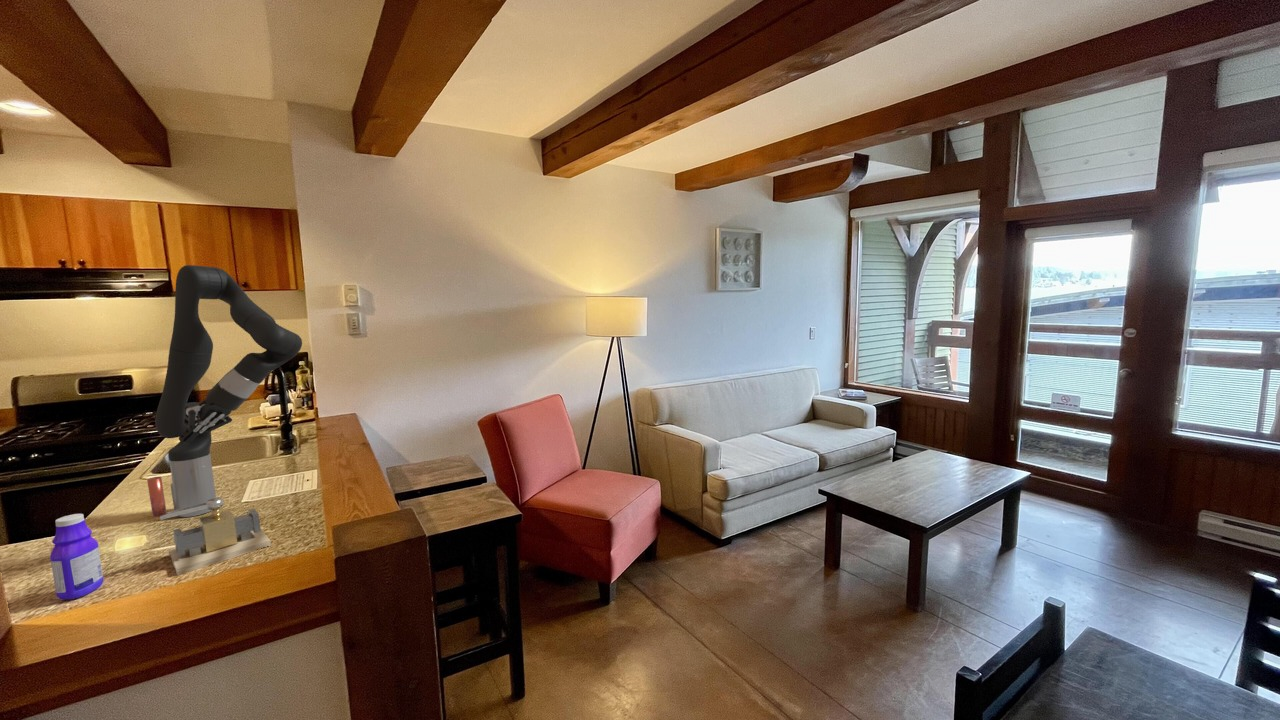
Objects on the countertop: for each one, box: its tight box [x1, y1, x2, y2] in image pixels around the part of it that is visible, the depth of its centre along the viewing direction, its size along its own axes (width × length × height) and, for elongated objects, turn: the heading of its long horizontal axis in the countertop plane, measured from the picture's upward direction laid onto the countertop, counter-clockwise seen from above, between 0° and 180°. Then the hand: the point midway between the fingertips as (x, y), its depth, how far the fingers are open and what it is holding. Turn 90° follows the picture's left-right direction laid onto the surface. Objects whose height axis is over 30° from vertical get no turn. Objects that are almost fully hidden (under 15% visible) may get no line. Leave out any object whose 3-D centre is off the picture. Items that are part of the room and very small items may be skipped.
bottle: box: [49, 513, 104, 600], centre depth 109 cm, size 7×6×17 cm
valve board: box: [168, 528, 272, 576], centre depth 127 cm, size 18×14×2 cm
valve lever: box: [146, 476, 224, 521], centre depth 122 cm, size 3×13×10 cm, turn 137°
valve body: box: [172, 507, 262, 557], centre depth 127 cm, size 16×6×10 cm, turn 138°
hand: (183, 441), depth 129 cm, fingers closed
